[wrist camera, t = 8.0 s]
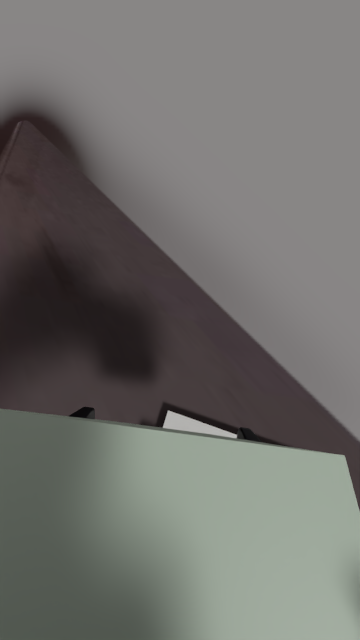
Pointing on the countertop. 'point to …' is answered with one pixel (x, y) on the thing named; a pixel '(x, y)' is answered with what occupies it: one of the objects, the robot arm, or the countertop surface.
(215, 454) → the sage green block
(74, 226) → the countertop surface
